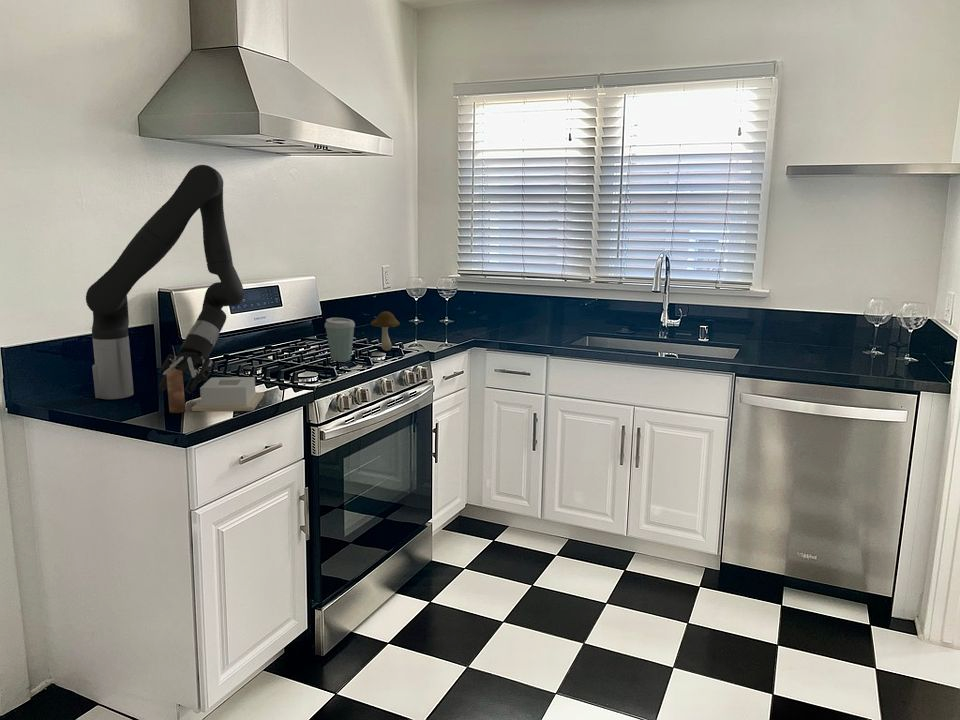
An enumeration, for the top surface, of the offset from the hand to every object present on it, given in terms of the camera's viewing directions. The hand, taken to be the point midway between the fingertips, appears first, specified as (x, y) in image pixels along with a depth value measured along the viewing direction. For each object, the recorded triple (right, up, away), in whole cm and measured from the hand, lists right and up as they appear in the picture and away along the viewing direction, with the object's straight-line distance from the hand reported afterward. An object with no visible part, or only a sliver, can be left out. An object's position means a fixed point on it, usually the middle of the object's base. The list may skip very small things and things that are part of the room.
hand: (174, 390), depth 200 cm
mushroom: (+46, +11, +84) cm, 96 cm away
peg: (0, -6, +2) cm, 6 cm away
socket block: (+11, -4, +10) cm, 15 cm away
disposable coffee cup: (+32, +7, +65) cm, 73 cm away
